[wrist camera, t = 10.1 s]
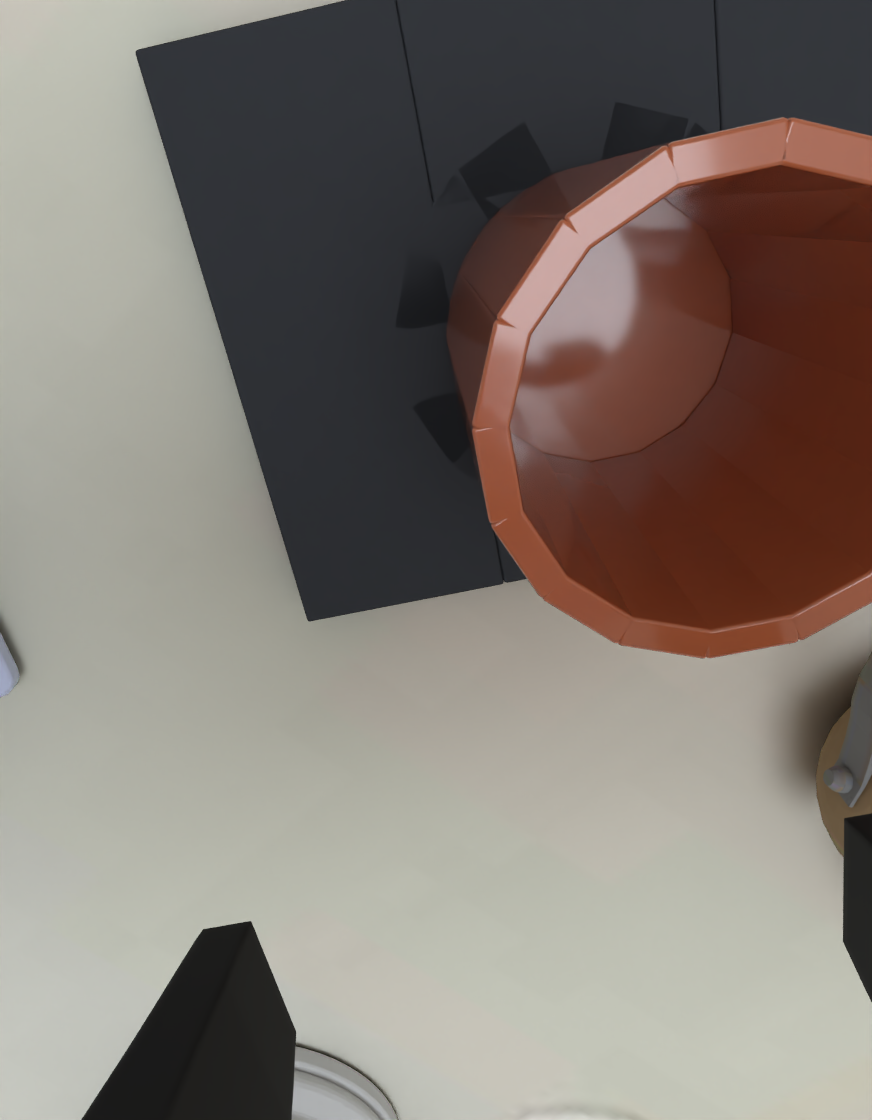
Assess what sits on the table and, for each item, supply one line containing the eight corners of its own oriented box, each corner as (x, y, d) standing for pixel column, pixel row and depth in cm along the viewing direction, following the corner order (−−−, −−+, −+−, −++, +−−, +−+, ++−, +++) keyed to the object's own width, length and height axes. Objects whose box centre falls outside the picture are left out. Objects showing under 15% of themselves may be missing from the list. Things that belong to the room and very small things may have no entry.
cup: (476, 493, 16) (522, 694, 10) (419, 203, 14) (427, 195, 7) (746, 438, 16) (993, 606, 9) (732, 133, 14) (1043, 58, 7)
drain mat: (311, 606, 18) (307, 622, 18) (148, 58, 14) (133, 50, 13) (1020, 467, 17) (1047, 479, 17) (1084, -163, 13) (1123, -186, 12)
